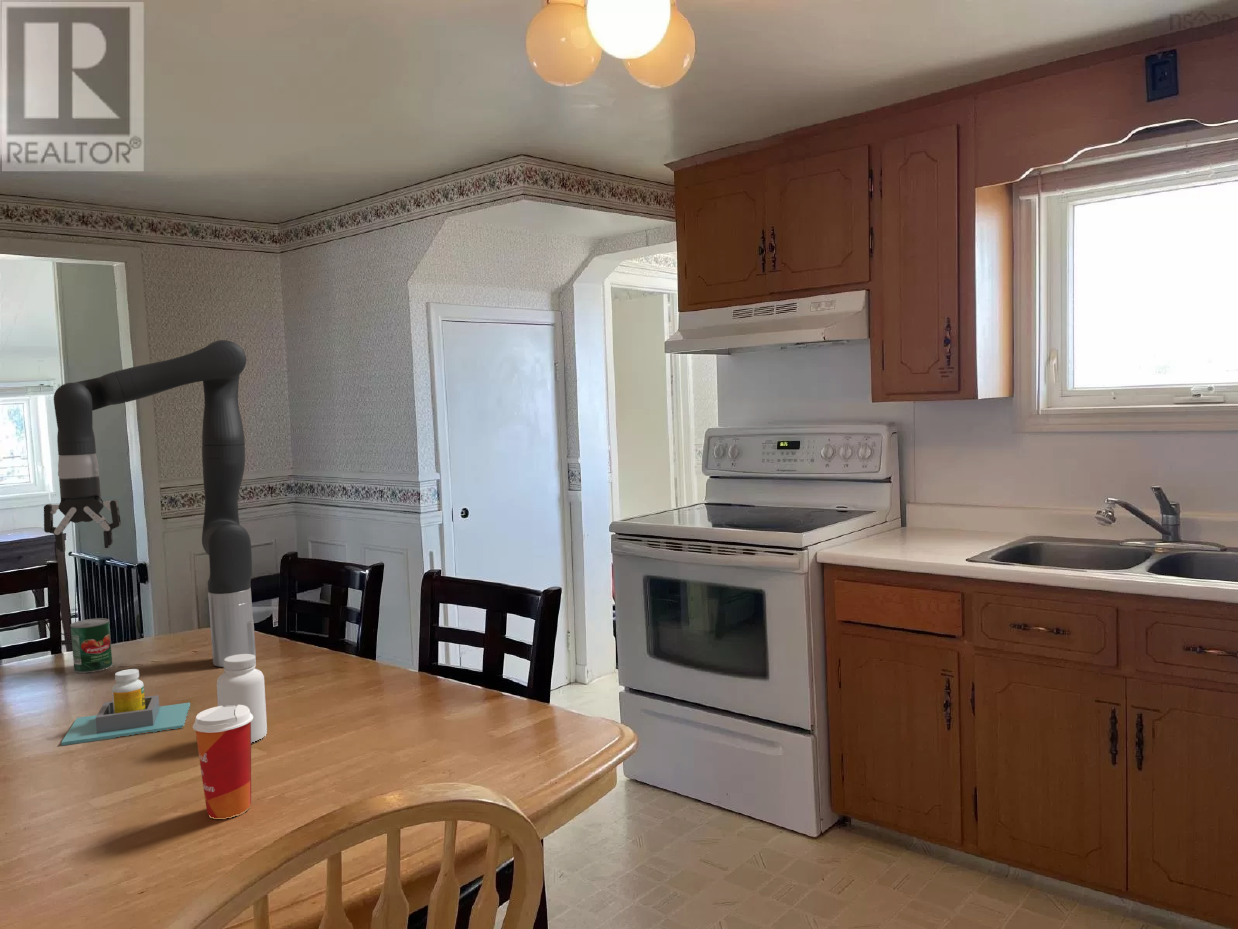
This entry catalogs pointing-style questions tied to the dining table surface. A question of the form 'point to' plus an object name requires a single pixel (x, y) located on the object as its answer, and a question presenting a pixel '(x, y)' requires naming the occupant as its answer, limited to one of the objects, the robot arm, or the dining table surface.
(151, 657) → the dining table surface
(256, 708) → the pill bottle
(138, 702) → the supplement bottle
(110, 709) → the bottle stand
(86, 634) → the canned tomato
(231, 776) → the coffee cup
